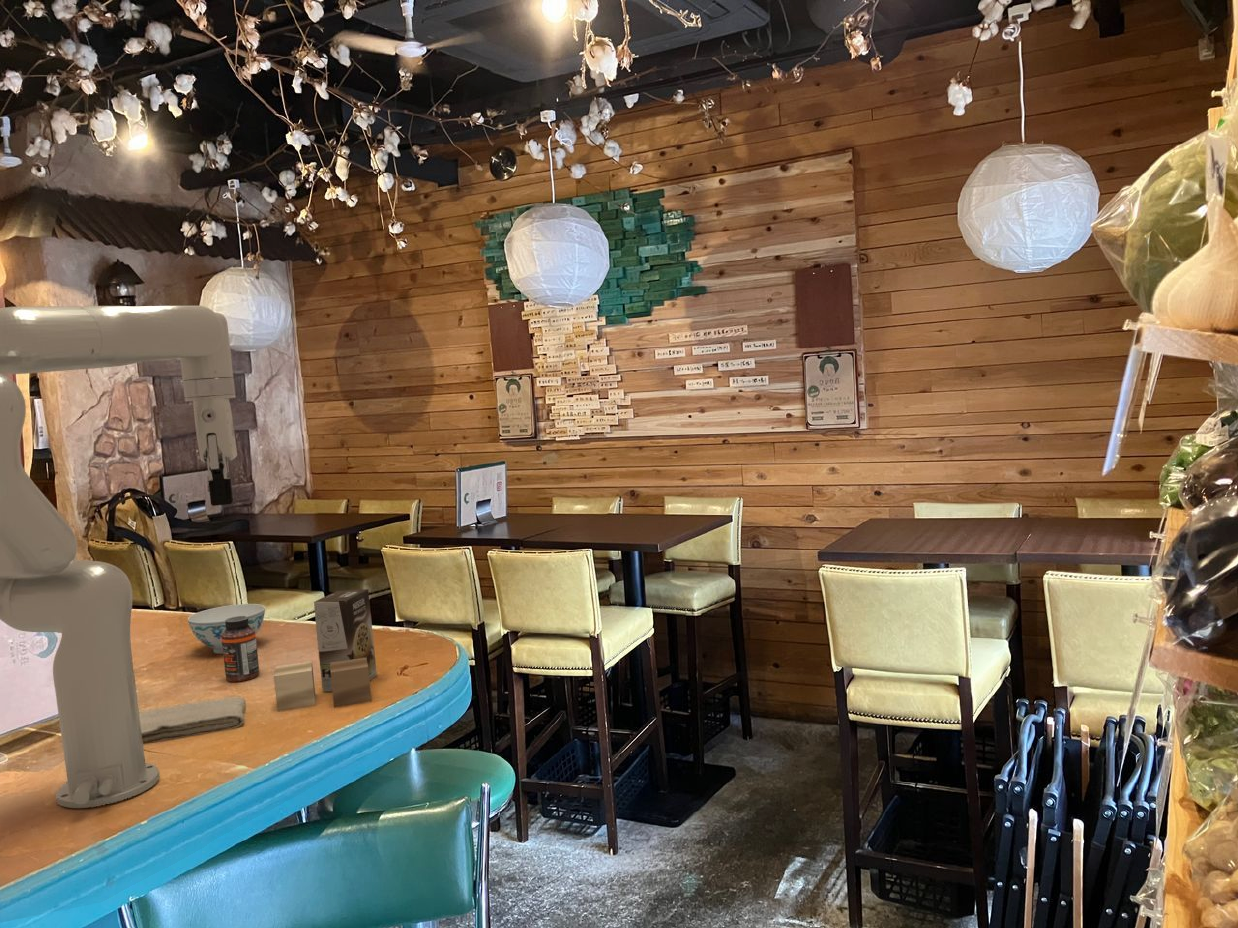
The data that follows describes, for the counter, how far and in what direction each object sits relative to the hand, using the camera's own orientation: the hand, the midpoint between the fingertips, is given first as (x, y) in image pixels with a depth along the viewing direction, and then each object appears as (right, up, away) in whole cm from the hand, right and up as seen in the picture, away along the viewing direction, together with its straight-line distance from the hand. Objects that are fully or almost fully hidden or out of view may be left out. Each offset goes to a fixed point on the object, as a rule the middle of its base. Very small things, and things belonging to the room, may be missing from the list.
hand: (222, 504), depth 158 cm
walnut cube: (+19, -33, +7) cm, 39 cm away
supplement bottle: (-6, -34, +25) cm, 42 cm away
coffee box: (+16, -33, +16) cm, 40 cm away
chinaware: (-17, -32, +46) cm, 59 cm away
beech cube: (+10, -34, +7) cm, 36 cm away
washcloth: (-6, -36, 0) cm, 37 cm away
